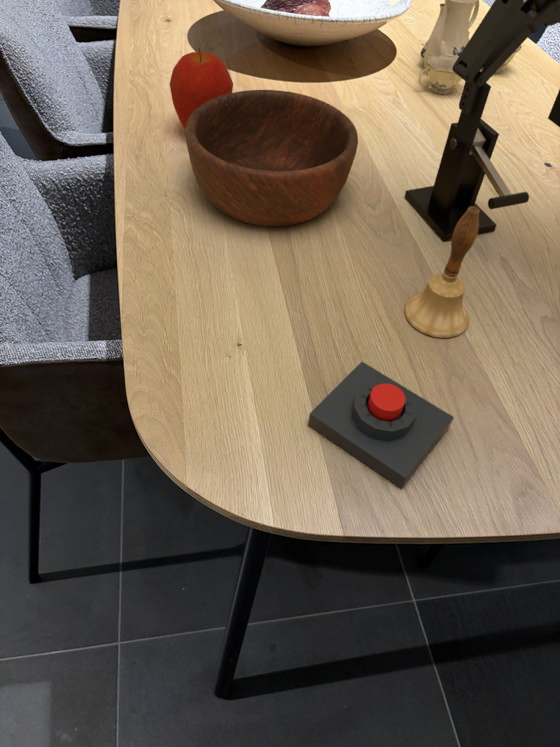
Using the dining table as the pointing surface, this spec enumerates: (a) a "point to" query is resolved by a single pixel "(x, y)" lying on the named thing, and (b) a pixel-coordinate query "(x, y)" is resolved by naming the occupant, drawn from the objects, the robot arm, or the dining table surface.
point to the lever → (495, 177)
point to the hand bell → (446, 288)
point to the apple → (197, 82)
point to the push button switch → (380, 426)
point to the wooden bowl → (270, 155)
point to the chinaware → (449, 44)
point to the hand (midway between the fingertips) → (511, 130)
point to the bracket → (454, 186)
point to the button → (386, 402)
